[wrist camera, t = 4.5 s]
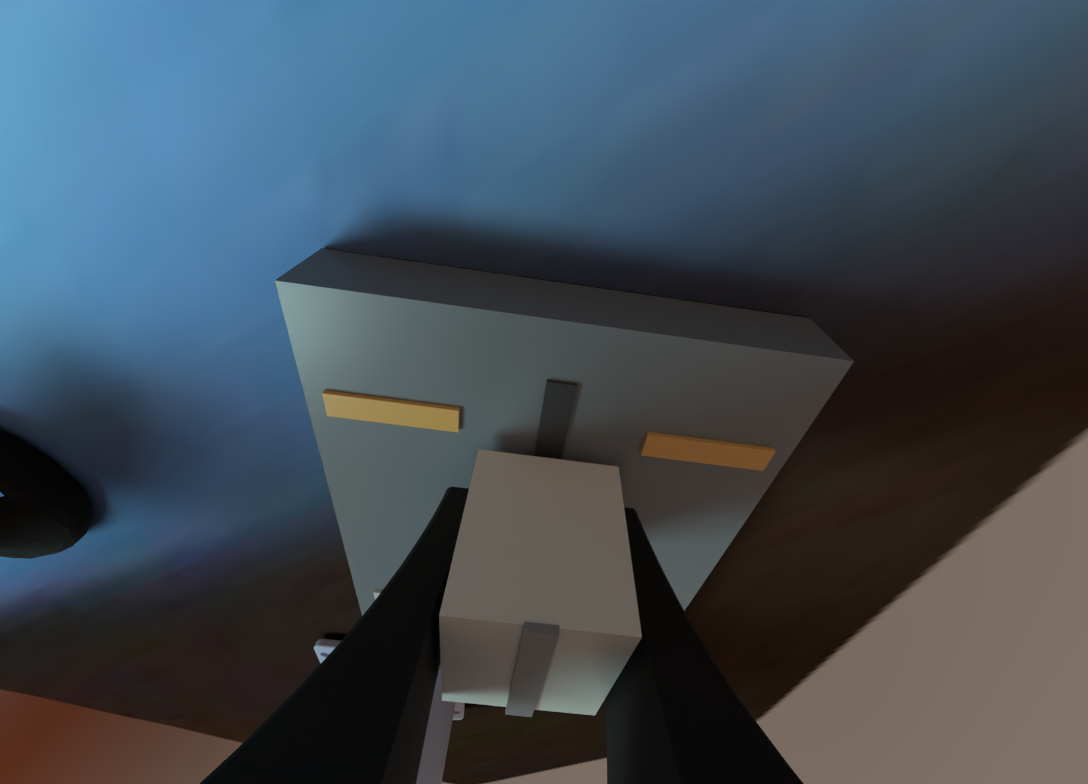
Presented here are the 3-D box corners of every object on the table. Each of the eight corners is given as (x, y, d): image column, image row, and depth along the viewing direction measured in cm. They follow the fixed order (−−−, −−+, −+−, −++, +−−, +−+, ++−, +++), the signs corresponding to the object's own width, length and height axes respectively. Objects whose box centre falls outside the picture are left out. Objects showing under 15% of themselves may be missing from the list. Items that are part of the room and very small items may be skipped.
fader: (587, 557, 13) (594, 722, 10) (472, 544, 13) (440, 708, 9) (618, 465, 10) (644, 643, 7) (478, 447, 10) (437, 622, 7)
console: (628, 639, 21) (634, 688, 19) (388, 614, 21) (372, 661, 19) (809, 318, 10) (856, 364, 9) (321, 248, 10) (271, 282, 8)
